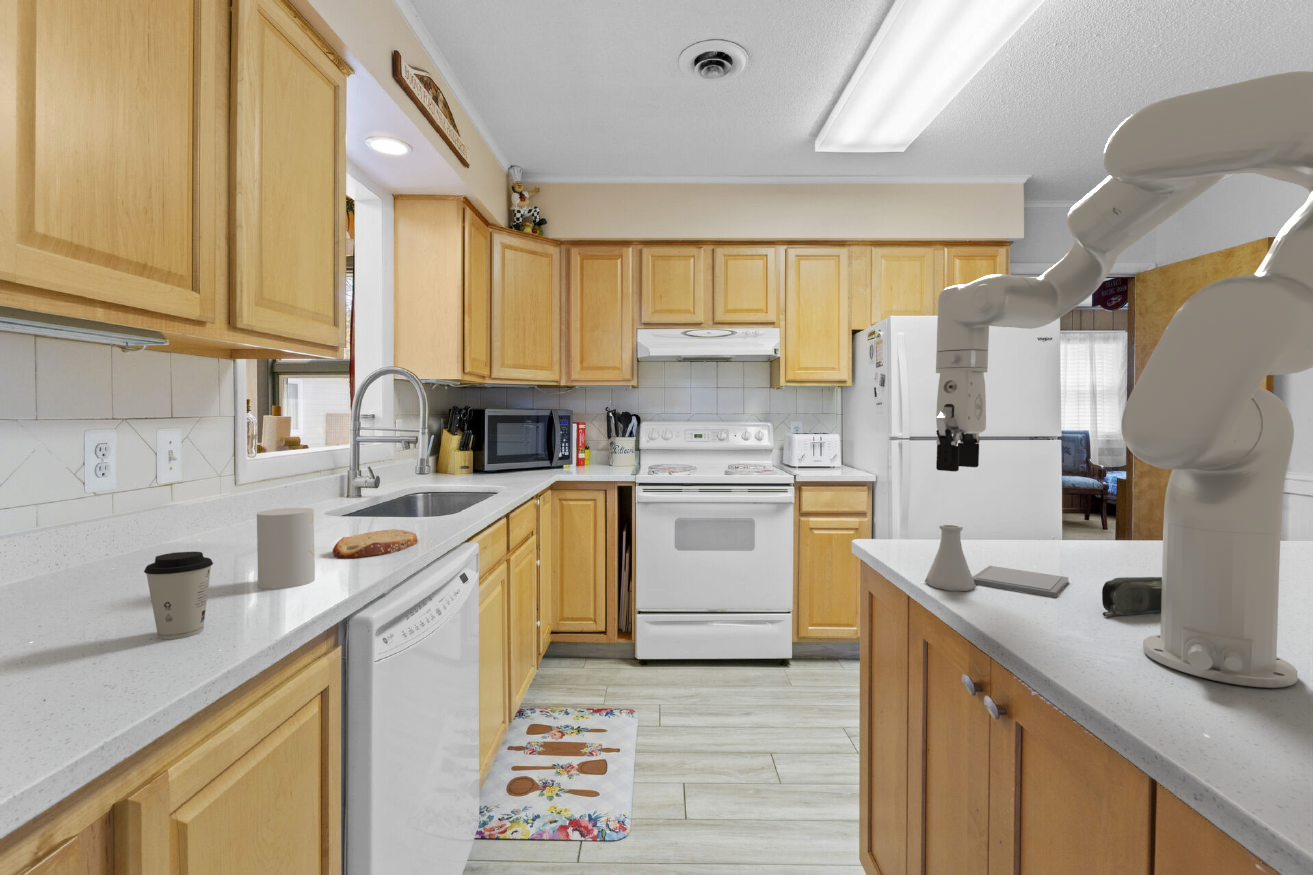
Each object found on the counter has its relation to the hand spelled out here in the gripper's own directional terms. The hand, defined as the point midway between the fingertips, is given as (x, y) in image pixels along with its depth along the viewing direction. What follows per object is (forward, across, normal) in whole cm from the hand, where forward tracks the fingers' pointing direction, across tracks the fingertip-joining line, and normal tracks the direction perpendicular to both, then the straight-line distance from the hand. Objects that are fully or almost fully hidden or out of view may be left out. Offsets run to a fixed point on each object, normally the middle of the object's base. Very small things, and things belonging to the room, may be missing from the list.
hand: (957, 468), depth 99 cm
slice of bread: (+22, -55, +98) cm, 115 cm away
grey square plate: (+19, +10, -7) cm, 23 cm away
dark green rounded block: (+19, +4, -24) cm, 31 cm away
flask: (+20, -1, 0) cm, 20 cm away
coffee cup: (+20, -93, +64) cm, 114 cm away
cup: (+21, -76, +81) cm, 113 cm away
